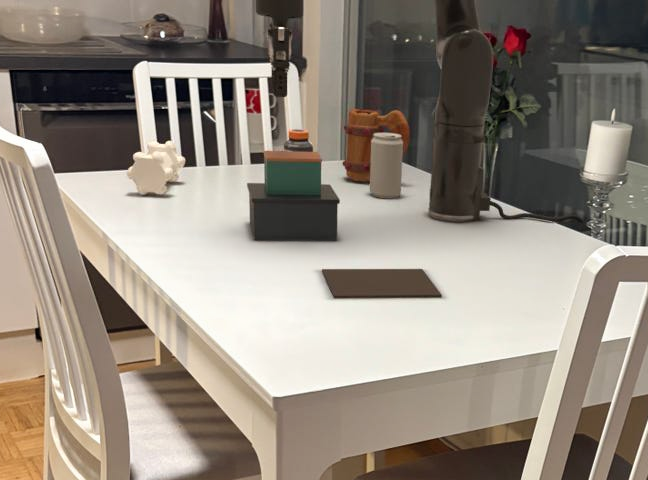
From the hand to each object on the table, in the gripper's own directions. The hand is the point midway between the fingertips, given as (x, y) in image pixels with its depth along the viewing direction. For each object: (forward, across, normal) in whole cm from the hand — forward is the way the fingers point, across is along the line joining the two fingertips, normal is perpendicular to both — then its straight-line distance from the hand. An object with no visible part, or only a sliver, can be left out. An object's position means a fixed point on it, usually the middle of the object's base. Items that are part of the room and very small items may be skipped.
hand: (279, 93), depth 160 cm
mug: (+22, +42, -22) cm, 52 cm away
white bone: (+22, +29, +22) cm, 43 cm away
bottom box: (+22, -2, -2) cm, 23 cm away
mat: (+23, -31, -14) cm, 41 cm away
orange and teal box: (+15, -2, -2) cm, 16 cm away
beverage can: (+22, +29, -23) cm, 43 cm away
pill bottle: (+22, +34, -6) cm, 41 cm away
